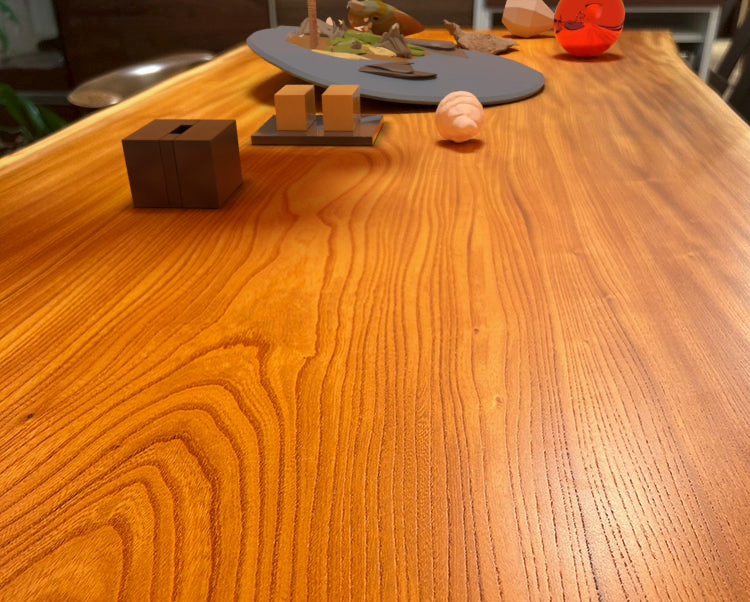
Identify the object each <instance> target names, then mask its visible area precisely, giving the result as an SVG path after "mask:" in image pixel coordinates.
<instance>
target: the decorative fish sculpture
mask: <svg viewBox="0 0 750 602" xmlns="http://www.w3.org/2000/svg"><path fill="white" fill-rule="evenodd" d="M347 5H348V8H349V11H348V13H347V20H348V22H349V25H350V26H351V28H352V30H356V31H359V32H363V33H364V32H369V33H372V34H375V35H379V36H382V35H383V33H384V32H387V33H388V32H389V30H390V28H391V27H392V26H393V25H394V24H396V23H397V22H398V24H399V31H400V35H402V34H403V36H404V38H407V37H409V36H412V35H416V34H419V33H422V32H424V31H425V30H426V27H424V25H423V24H422V23H420V21H418V20H417V19H415V18H414V17H412V16H411V15H409V14H407V13H406V12H403V11H401V10H400V9H398V8H396V7H395V6H393V5H390V4H389V3H388V4H387V3H385V2H383V1H382V0H362V1H359V0H349V1H348V2H347ZM364 18H368V20H367V21H366V22H365V21H364ZM349 20H352V21H353V23H350V21H349ZM370 22H372V25H371V28H369V27H368V30H367V31H365V29H364V27H362V28H360V29H361V30H362V31H360V30H358V29H355V28H354V27H361V26H367V25H368V24H369V23H370ZM370 31H371V32H370Z"/></svg>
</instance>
